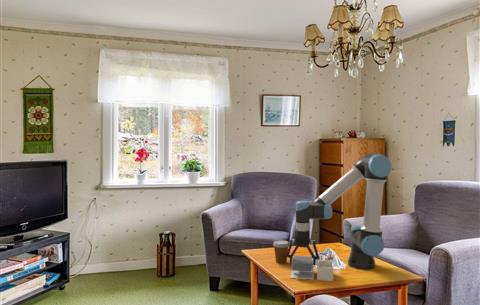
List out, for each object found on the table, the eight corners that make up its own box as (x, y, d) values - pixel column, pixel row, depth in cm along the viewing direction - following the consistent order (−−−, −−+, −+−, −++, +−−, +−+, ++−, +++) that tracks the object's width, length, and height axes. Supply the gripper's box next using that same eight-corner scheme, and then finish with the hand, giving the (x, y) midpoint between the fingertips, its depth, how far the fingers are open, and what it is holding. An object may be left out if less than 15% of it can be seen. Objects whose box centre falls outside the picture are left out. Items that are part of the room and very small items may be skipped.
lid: (312, 263, 225) (312, 256, 225) (311, 271, 212) (311, 263, 212) (294, 262, 227) (294, 255, 227) (292, 270, 214) (292, 262, 214)
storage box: (333, 273, 220) (333, 261, 219) (333, 281, 209) (333, 267, 208) (317, 272, 221) (317, 260, 221) (317, 280, 210) (317, 266, 210)
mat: (314, 270, 226) (314, 269, 226) (313, 280, 210) (313, 279, 210) (293, 268, 229) (293, 268, 229) (290, 278, 213) (290, 277, 213)
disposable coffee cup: (287, 265, 235) (287, 244, 235) (271, 263, 238) (271, 243, 238) (291, 260, 244) (290, 240, 244) (275, 259, 247) (275, 239, 247)
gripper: (280, 230, 218) (281, 271, 218) (323, 232, 213) (323, 274, 213) (282, 227, 225) (282, 267, 226) (324, 229, 220) (324, 269, 221)
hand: (302, 270), depth 220 cm, fingers closed on lid, 10 cm apart
